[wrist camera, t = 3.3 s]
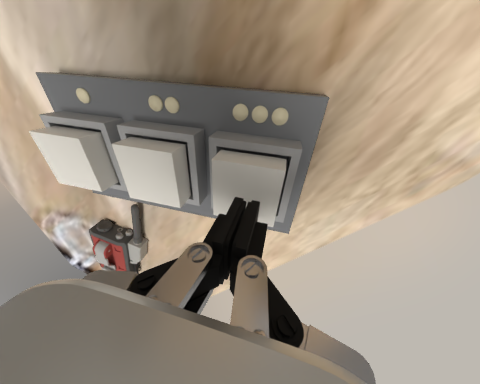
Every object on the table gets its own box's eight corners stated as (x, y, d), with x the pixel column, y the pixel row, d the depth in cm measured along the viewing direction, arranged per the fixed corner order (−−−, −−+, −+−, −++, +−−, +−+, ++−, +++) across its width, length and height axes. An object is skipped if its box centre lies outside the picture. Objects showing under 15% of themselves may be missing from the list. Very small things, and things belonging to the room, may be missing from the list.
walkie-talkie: (150, 274, 37) (148, 202, 25) (135, 295, 33) (125, 223, 22) (111, 258, 37) (92, 180, 26) (92, 277, 33) (60, 197, 22)
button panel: (59, 72, 18) (6, 71, 14) (324, 94, 14) (335, 100, 10) (106, 185, 25) (78, 201, 22) (288, 221, 21) (288, 248, 17)
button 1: (54, 125, 16) (28, 131, 15) (100, 132, 16) (78, 138, 14) (78, 173, 19) (59, 183, 17) (119, 181, 18) (102, 192, 17)
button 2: (130, 136, 15) (111, 143, 13) (185, 144, 14) (171, 153, 13) (144, 186, 18) (130, 197, 16) (191, 195, 17) (180, 208, 15)
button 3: (221, 149, 14) (211, 159, 12) (286, 158, 13) (285, 170, 11) (220, 201, 17) (213, 214, 15) (274, 211, 16) (273, 227, 14)
